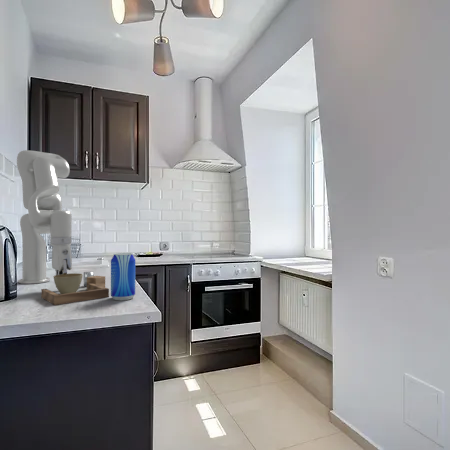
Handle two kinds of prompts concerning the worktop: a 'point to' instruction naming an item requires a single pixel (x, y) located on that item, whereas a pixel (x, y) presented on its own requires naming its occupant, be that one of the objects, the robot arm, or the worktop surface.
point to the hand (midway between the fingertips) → (60, 287)
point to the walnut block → (96, 280)
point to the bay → (75, 295)
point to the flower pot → (68, 282)
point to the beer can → (123, 276)
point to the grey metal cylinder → (87, 274)
